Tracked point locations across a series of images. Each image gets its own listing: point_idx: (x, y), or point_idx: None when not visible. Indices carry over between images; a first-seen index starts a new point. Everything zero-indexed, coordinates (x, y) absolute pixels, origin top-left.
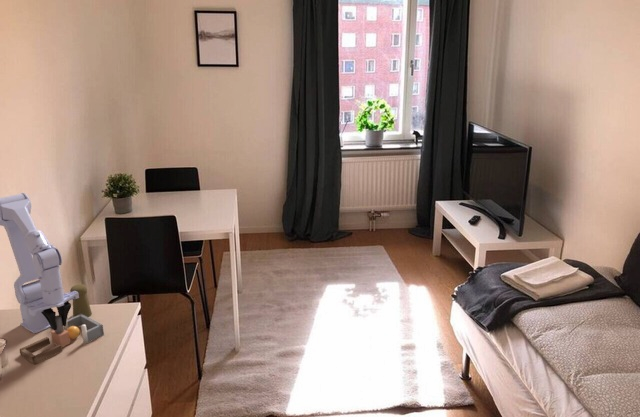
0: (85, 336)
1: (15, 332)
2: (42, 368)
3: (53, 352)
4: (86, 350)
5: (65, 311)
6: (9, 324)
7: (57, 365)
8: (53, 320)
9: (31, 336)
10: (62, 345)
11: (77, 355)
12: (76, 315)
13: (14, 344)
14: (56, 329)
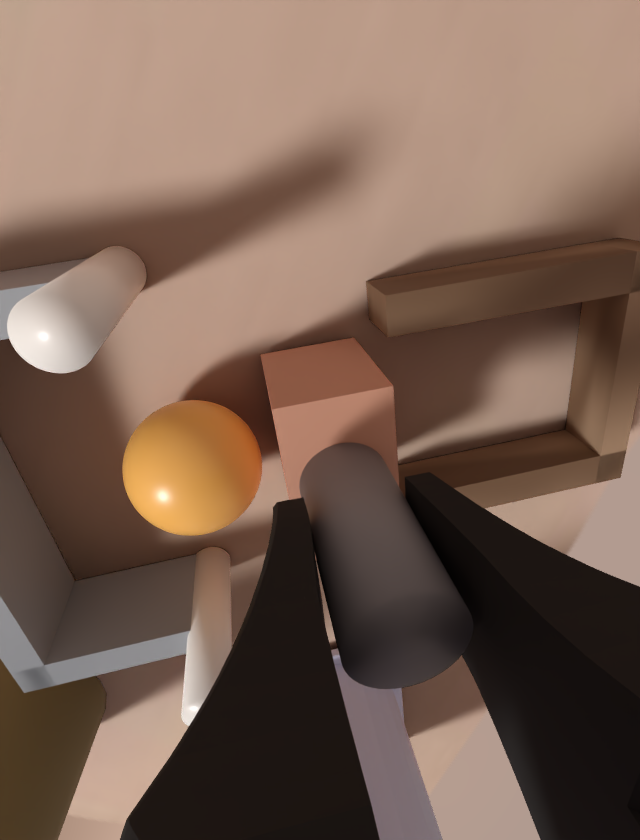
0: (100, 260)
1: (454, 693)
2: (628, 105)
3: (460, 272)
4: (167, 82)
5: (308, 699)
6: (432, 765)
7: (526, 27)
8: (535, 563)
9: None
10: (342, 344)
11: (290, 55)
12: (76, 705)
13: None
14: (410, 476)
